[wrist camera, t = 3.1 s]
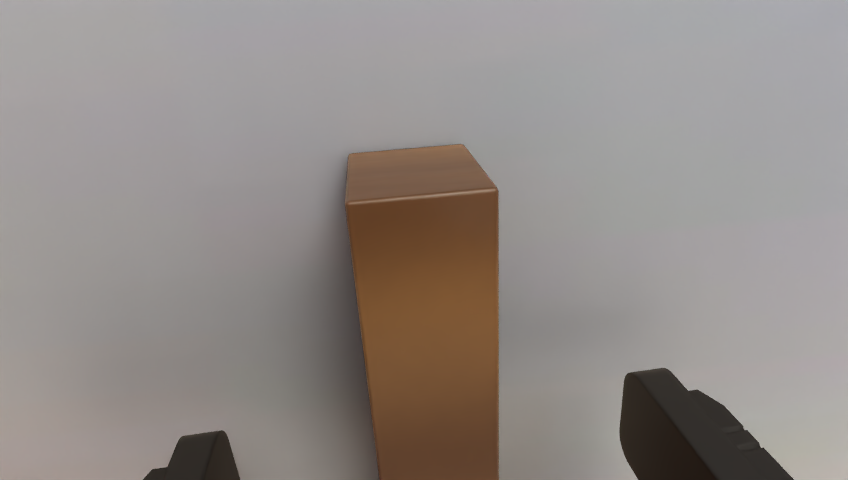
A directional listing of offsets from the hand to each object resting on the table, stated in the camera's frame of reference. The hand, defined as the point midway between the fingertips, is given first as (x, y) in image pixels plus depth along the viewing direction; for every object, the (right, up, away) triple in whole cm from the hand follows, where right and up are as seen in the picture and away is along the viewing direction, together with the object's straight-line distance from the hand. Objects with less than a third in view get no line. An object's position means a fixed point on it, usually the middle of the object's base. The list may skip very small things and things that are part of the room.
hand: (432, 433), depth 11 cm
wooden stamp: (0, -1, +3) cm, 3 cm away
